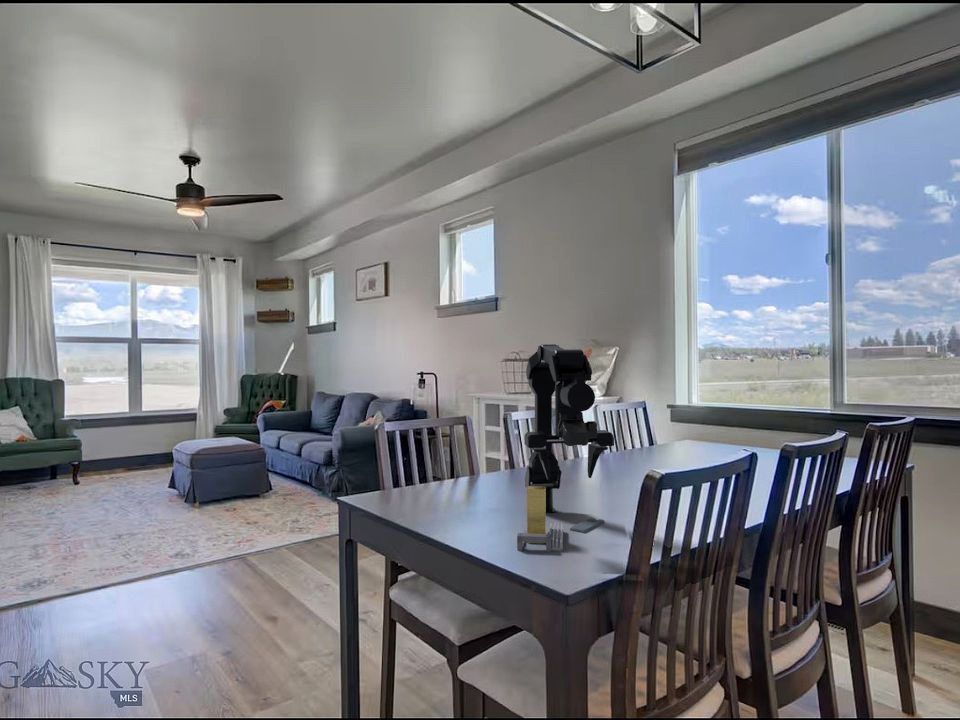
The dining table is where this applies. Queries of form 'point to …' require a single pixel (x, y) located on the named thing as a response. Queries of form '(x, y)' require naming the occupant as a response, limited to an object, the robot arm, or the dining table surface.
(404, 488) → the dining table surface
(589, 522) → the dark grey flat block
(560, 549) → the socket board
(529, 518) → the yellow rectangular block
